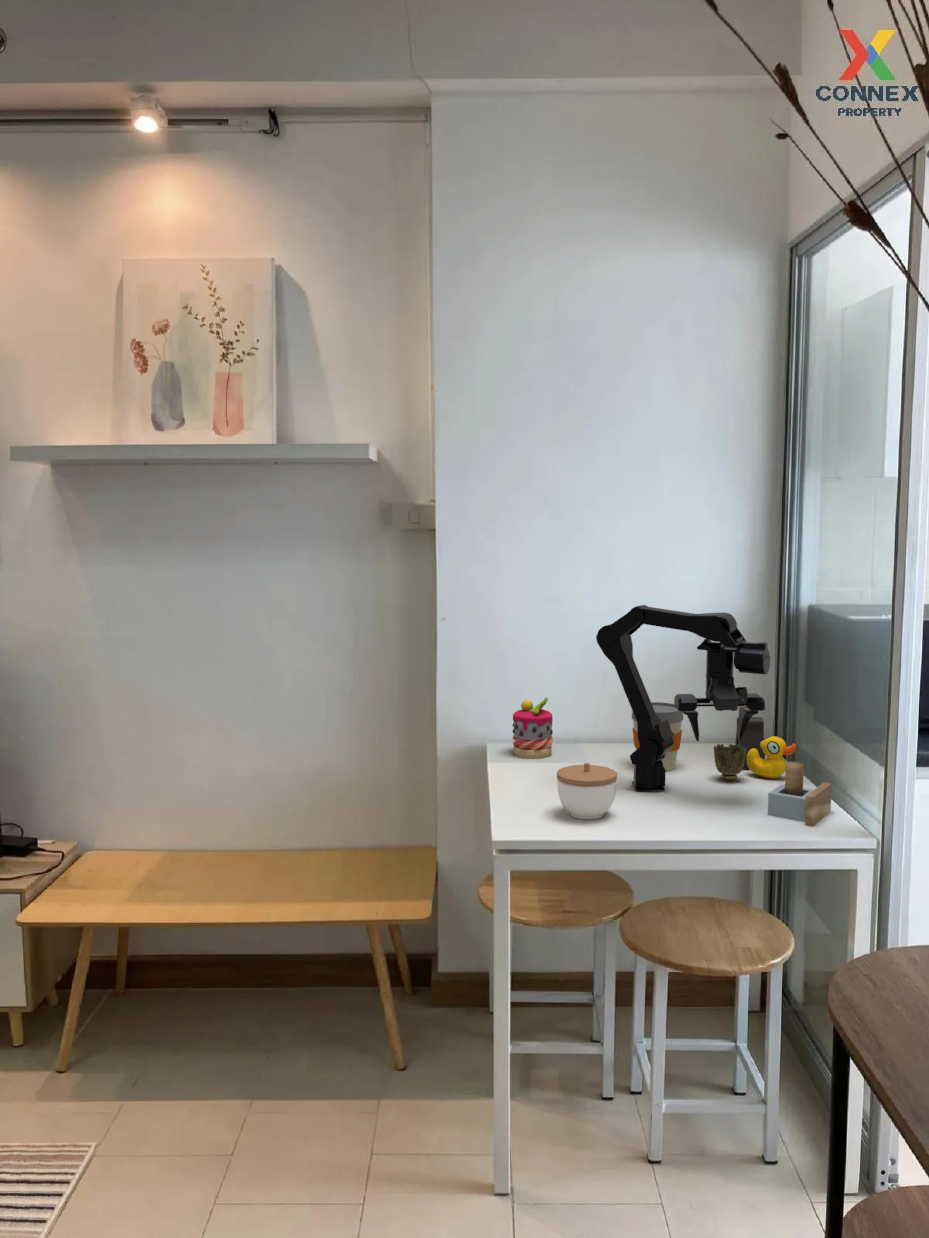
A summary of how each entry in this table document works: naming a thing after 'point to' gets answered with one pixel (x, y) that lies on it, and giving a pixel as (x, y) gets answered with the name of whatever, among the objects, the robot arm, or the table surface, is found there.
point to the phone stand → (752, 737)
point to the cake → (532, 731)
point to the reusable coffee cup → (675, 721)
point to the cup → (729, 760)
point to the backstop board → (818, 804)
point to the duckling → (770, 757)
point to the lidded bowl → (586, 790)
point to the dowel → (794, 778)
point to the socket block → (787, 804)
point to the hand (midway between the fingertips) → (718, 740)
